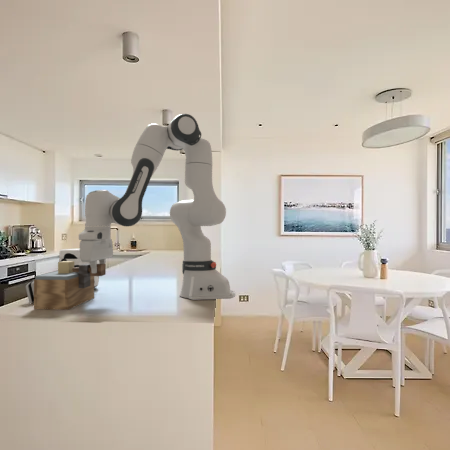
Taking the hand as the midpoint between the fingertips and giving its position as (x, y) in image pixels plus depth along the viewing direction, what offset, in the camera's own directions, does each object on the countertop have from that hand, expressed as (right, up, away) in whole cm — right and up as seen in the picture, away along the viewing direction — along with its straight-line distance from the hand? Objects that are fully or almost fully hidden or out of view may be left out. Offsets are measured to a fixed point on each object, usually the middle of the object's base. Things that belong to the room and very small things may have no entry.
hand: (98, 272), depth 129 cm
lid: (-12, -2, +1) cm, 12 cm away
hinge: (-23, -12, +9) cm, 28 cm away
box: (-10, -11, +1) cm, 15 cm away
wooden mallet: (-3, -1, 0) cm, 4 cm away
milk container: (-19, -12, +28) cm, 36 cm away
